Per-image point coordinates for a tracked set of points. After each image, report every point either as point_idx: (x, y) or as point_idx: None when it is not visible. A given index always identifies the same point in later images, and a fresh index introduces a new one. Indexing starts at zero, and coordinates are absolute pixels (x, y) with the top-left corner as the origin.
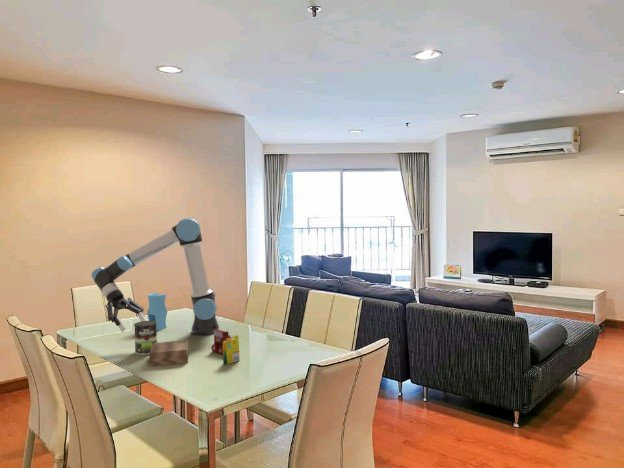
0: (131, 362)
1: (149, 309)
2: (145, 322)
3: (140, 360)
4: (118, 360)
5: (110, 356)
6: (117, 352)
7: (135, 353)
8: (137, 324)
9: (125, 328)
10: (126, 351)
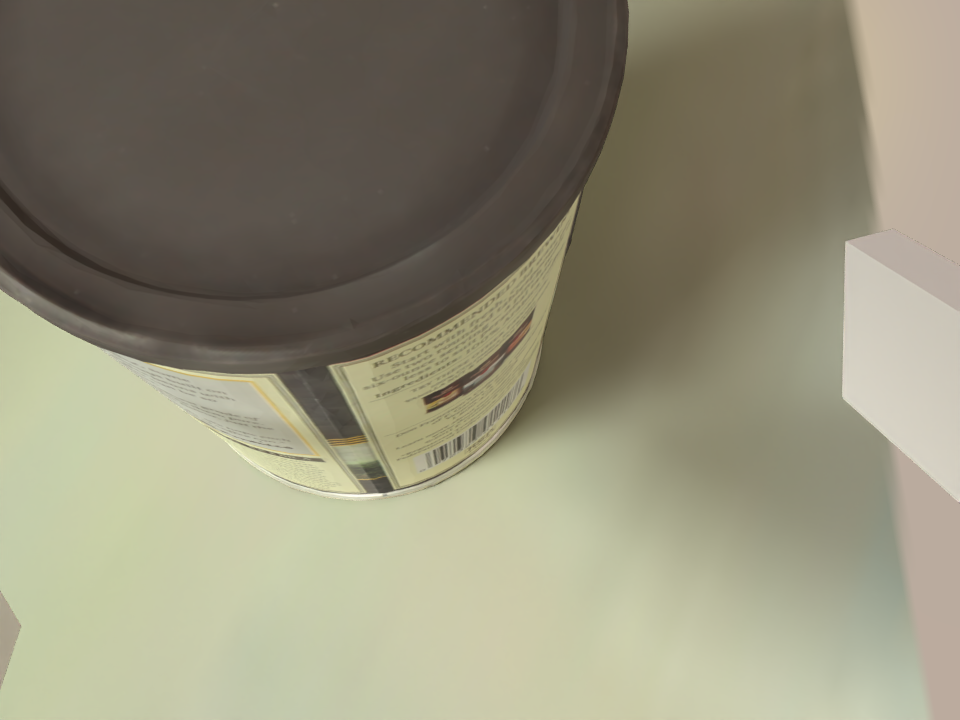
0: (759, 39)
1: None
2: (169, 145)
3: (633, 24)
4: None
5: (895, 563)
6: (721, 706)
7: (538, 362)
8: (507, 91)
9: (853, 254)
10: (580, 630)
